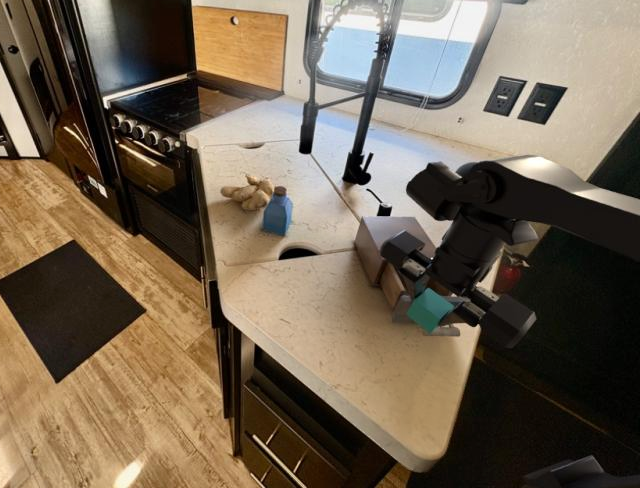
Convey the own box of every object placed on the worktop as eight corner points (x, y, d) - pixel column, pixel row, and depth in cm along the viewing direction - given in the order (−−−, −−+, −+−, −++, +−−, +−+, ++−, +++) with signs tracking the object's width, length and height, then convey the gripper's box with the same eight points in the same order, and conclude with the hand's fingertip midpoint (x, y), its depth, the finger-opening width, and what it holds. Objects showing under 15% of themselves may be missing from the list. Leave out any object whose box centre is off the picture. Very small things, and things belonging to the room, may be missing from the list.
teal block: (444, 321, 49) (454, 306, 47) (430, 334, 47) (440, 319, 45) (420, 302, 52) (428, 287, 50) (406, 314, 50) (414, 299, 48)
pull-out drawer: (466, 347, 56) (483, 326, 52) (403, 347, 56) (415, 326, 52) (421, 271, 70) (432, 250, 66) (371, 271, 70) (378, 250, 66)
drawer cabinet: (429, 286, 68) (444, 259, 63) (372, 286, 68) (382, 259, 63) (403, 242, 79) (414, 216, 74) (354, 241, 79) (361, 216, 74)
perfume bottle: (262, 229, 83) (264, 193, 76) (269, 215, 88) (272, 180, 81) (284, 236, 81) (289, 199, 74) (290, 221, 86) (295, 185, 79)
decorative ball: (484, 205, 91) (500, 177, 86) (445, 193, 96) (459, 166, 91) (486, 190, 98) (502, 162, 92) (450, 179, 103) (463, 152, 97)
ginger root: (294, 199, 92) (291, 179, 86) (253, 230, 86) (247, 210, 81) (260, 177, 102) (255, 158, 97) (221, 204, 97) (215, 185, 91)
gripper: (585, 264, 37) (517, 334, 46) (433, 189, 50) (403, 255, 59) (549, 310, 32) (481, 378, 41) (391, 213, 45) (366, 282, 54)
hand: (427, 314), depth 49 cm, fingers closed on teal block, 4 cm apart
